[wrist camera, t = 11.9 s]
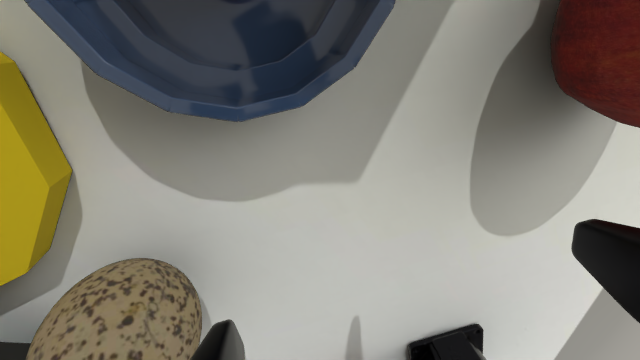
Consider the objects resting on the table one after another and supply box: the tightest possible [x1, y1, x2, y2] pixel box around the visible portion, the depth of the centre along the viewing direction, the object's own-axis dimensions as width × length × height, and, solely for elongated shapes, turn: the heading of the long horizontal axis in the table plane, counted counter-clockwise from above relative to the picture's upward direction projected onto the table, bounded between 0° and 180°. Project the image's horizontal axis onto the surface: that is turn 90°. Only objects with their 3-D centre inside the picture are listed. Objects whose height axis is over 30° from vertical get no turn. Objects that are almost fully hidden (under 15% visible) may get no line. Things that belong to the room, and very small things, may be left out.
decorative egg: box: [26, 258, 202, 360], centre depth 15 cm, size 7×7×10 cm
